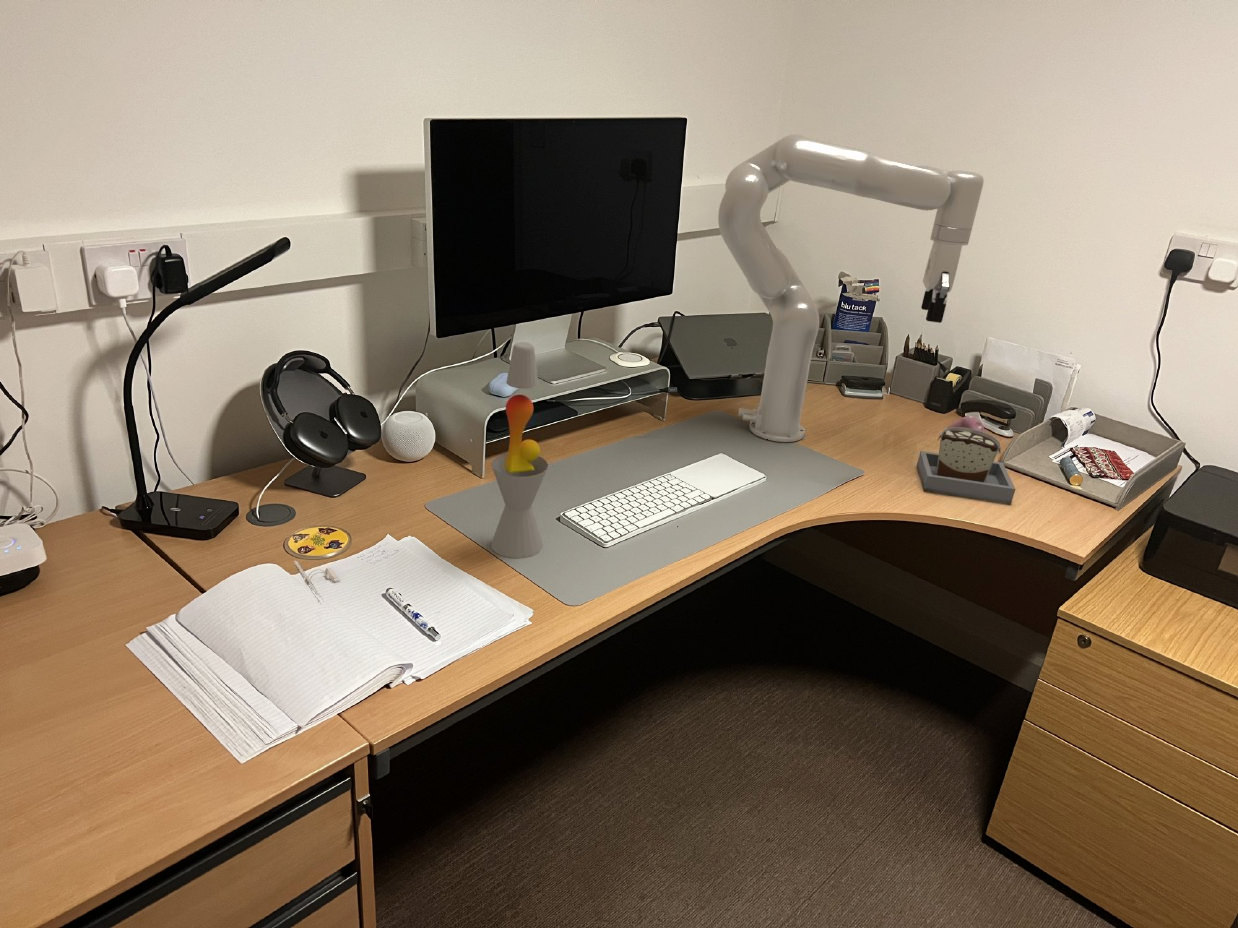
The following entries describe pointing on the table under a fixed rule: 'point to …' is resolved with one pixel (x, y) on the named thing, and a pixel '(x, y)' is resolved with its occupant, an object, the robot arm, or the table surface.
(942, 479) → the desk holder
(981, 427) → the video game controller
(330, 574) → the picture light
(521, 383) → the lava lamp
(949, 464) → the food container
